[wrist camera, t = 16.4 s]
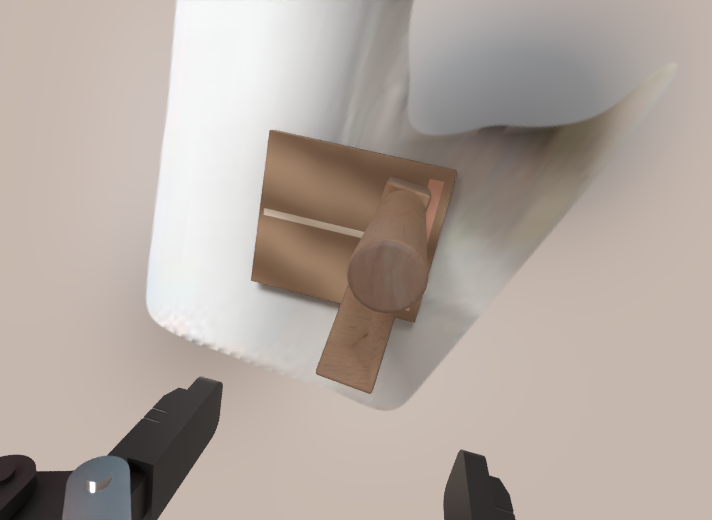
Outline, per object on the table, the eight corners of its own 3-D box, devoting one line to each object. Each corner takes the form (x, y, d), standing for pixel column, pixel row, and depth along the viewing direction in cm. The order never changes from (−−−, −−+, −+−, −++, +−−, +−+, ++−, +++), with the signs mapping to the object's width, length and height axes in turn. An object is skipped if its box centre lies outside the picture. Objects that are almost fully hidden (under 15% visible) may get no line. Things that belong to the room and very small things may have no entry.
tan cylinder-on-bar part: (352, 287, 37) (295, 418, 21) (390, 174, 34) (358, 222, 17) (390, 300, 37) (363, 444, 20) (432, 188, 34) (442, 251, 17)
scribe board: (275, 130, 36) (269, 130, 34) (455, 170, 34) (457, 172, 33) (257, 275, 40) (250, 280, 39) (414, 315, 39) (414, 322, 38)
